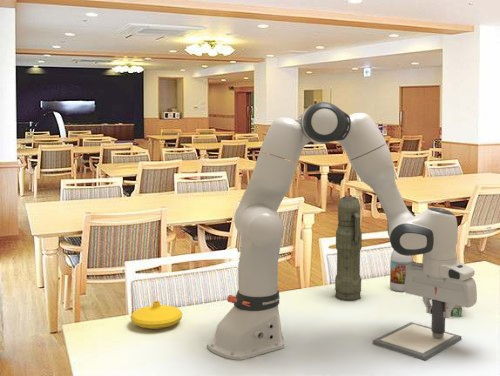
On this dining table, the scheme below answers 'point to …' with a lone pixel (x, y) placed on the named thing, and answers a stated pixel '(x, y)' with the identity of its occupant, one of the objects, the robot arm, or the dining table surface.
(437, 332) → the marker
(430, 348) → the writing board
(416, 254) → the robot arm
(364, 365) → the dining table surface
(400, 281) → the milk bottle
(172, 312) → the yellow lid
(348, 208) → the thermos
